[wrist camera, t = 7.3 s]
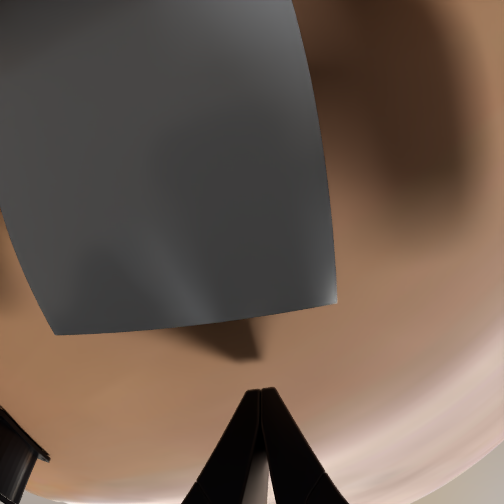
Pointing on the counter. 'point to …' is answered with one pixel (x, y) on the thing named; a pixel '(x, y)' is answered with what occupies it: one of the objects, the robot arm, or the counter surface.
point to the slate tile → (162, 162)
